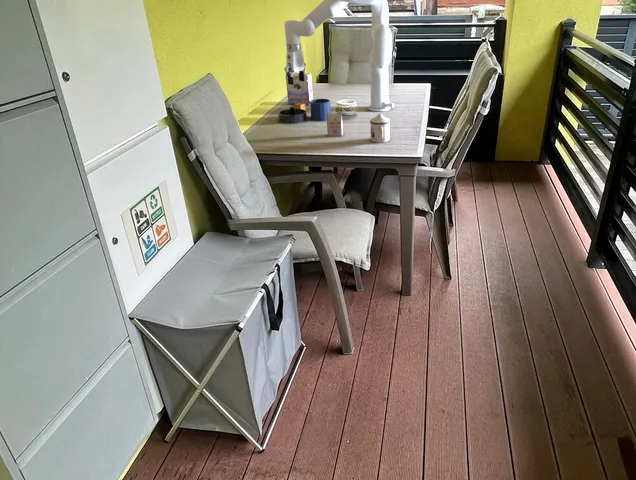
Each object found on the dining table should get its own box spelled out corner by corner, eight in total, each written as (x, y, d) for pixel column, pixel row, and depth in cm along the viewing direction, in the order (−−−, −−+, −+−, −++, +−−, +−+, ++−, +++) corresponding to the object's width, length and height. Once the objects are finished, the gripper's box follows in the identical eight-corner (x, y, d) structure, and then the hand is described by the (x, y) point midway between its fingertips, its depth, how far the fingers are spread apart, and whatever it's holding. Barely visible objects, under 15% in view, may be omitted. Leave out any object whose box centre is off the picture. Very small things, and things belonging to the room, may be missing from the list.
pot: (334, 117, 282) (333, 99, 278) (323, 121, 275) (322, 104, 270) (318, 115, 287) (317, 97, 282) (307, 119, 280) (305, 102, 275)
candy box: (313, 103, 311) (311, 73, 302) (309, 105, 306) (307, 75, 298) (292, 102, 315) (289, 72, 306) (287, 104, 310) (285, 74, 302)
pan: (312, 118, 282) (311, 110, 280) (295, 124, 272) (295, 116, 270) (290, 115, 289) (289, 107, 287) (273, 121, 278) (272, 113, 276)
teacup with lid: (369, 137, 249) (369, 111, 242) (388, 136, 249) (389, 111, 243) (371, 145, 239) (371, 118, 232) (391, 144, 239) (392, 117, 233)
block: (305, 111, 294) (305, 103, 291) (301, 113, 291) (300, 105, 288) (299, 111, 296) (298, 102, 293) (294, 112, 293) (293, 104, 290)
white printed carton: (328, 134, 256) (327, 112, 250) (342, 134, 255) (341, 112, 250) (327, 136, 253) (326, 114, 247) (341, 136, 252) (340, 114, 247)
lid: (307, 117, 282) (307, 105, 278) (295, 122, 273) (294, 110, 270) (290, 115, 287) (289, 103, 283) (277, 120, 279) (276, 108, 275)
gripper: (289, 50, 266) (292, 86, 275) (309, 45, 279) (311, 80, 288) (277, 49, 270) (280, 85, 279) (297, 44, 282) (300, 79, 291)
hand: (296, 82), depth 283 cm, fingers open, 9 cm apart
